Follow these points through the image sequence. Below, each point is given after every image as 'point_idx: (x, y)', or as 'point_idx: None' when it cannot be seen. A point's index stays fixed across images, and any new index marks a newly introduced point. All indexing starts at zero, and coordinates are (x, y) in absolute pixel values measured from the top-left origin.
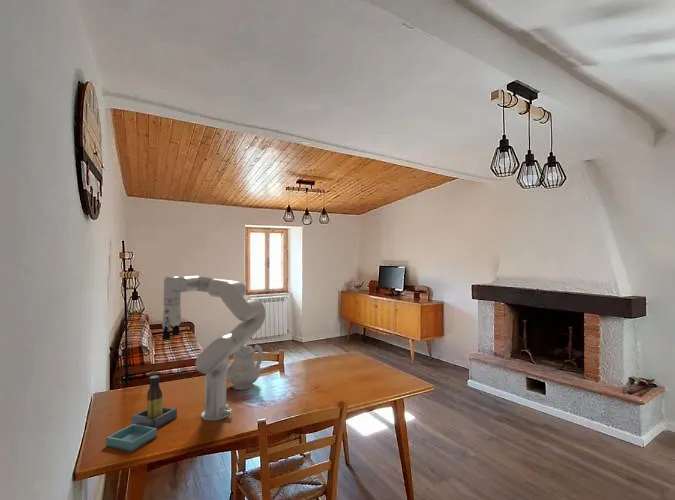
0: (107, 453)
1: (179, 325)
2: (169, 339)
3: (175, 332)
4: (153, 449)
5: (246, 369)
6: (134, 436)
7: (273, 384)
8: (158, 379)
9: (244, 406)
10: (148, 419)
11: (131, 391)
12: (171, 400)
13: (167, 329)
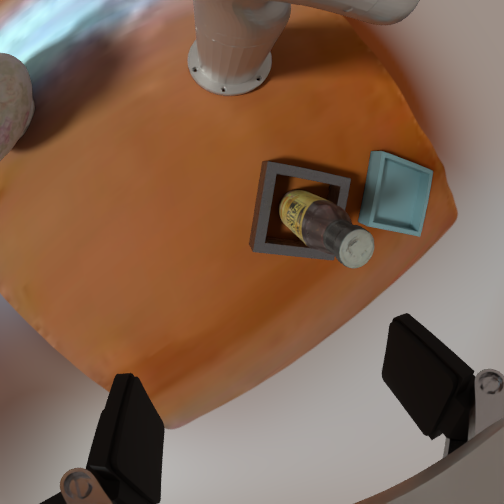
0: (426, 210)
1: (64, 485)
2: (400, 315)
3: (146, 428)
4: (410, 132)
5: (4, 66)
6: (384, 198)
7: None
8: (355, 225)
9: (153, 20)
10: (345, 202)
11: None
12: (148, 257)
13: (501, 392)
